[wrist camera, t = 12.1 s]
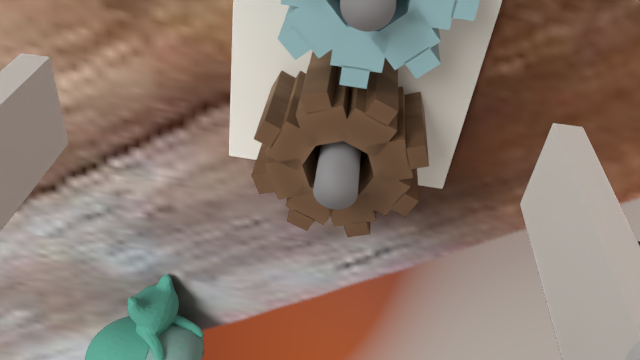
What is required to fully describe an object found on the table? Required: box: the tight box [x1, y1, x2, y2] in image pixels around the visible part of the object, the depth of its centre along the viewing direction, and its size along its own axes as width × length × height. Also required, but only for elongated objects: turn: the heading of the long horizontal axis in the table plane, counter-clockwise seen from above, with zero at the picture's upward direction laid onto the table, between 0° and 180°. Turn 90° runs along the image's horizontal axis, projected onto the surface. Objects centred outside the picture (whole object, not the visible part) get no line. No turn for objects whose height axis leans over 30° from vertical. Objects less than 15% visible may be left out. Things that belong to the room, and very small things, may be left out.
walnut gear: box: [252, 50, 429, 237], centre depth 35 cm, size 10×10×6 cm
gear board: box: [229, 0, 502, 209], centre depth 32 cm, size 19×15×10 cm
